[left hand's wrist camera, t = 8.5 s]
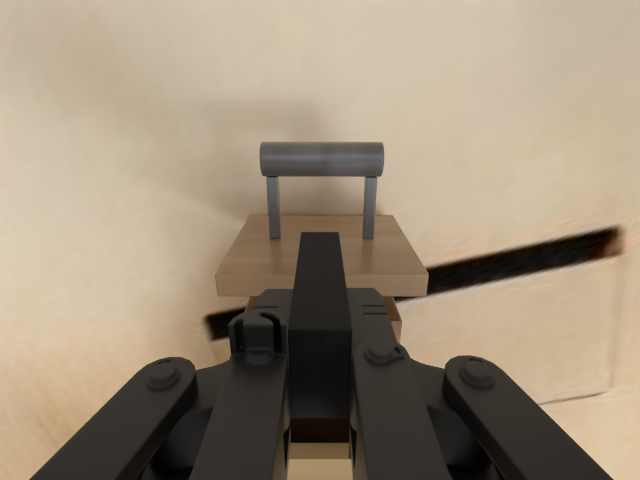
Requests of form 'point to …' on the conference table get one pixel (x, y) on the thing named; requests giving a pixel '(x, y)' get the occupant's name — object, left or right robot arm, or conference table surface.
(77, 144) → the conference table surface
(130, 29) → the conference table surface
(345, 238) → the drawer
